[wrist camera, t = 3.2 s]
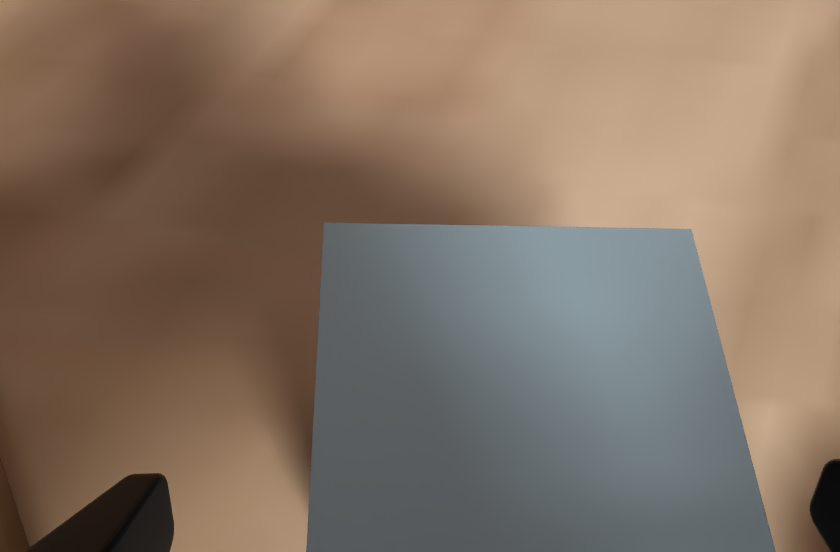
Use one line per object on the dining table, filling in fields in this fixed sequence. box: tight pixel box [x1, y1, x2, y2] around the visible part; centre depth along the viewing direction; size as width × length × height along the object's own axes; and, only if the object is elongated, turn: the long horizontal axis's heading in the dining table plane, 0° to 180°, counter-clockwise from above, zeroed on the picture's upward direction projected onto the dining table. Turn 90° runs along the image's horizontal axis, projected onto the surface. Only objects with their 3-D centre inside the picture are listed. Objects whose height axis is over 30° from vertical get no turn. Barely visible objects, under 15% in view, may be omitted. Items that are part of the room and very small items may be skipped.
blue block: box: [306, 223, 776, 552], centre depth 11 cm, size 5×5×10 cm
